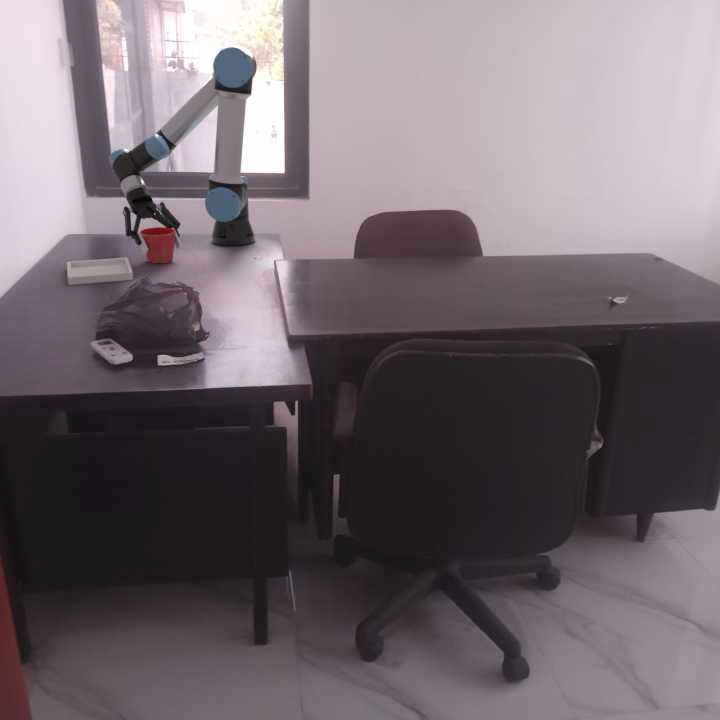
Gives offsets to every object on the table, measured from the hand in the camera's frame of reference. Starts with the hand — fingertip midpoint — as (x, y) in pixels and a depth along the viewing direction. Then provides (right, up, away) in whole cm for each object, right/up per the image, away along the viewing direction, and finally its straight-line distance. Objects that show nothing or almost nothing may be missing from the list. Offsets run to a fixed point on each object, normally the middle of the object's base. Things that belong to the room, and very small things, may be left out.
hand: (163, 249), depth 237 cm
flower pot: (-2, -3, +4) cm, 5 cm away
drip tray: (-16, -9, -11) cm, 22 cm away
